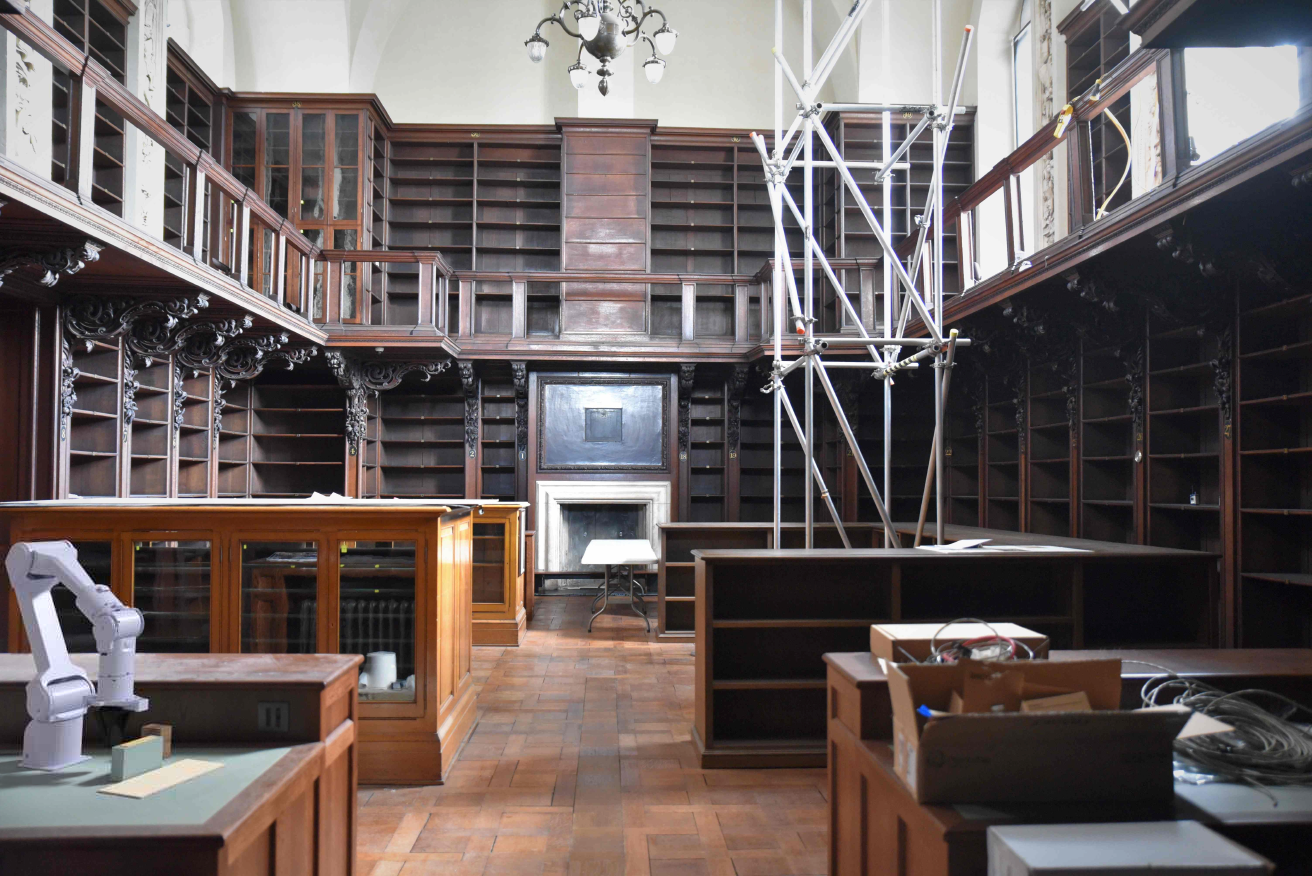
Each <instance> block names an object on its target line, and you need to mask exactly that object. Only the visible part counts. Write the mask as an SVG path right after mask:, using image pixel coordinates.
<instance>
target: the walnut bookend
mask: <svg viewBox="0 0 1312 876" xmlns="http://www.w3.org/2000/svg"><path fill="white" fill-rule="evenodd" d="M151 735H154V736H161V737H163V755H162V760H164V759H168V758H170V757H171V748H172V747H171V746H172V745H171V744H172V726H171V725H166V724H157V723H150V724H147V725H144V726H141V737H140V739H141V738H144V737H147V736H151Z"/></svg>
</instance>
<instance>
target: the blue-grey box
mask: <svg viewBox="0 0 1312 876" xmlns="http://www.w3.org/2000/svg"><path fill="white" fill-rule="evenodd" d="M162 755H163V737H161V736H154V735H151V736H147V737H144V738H141V737H140V738H138V739H135V740H131V741H129V742H126V743H121V744H120V745H118V746H115V747H112V748H111V763H110V765H111V767H110V781H112V782H116V783H117V782H118V783H120V782H123V781H125V780H128V779H131V778H134V777H137V776H139V775H142V774H145V773H148V772H151V771H154V770H156V769H159V768H162V767H163V759H162Z"/></svg>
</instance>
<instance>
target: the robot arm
mask: <svg viewBox="0 0 1312 876" xmlns="http://www.w3.org/2000/svg"><path fill="white" fill-rule="evenodd" d="M4 564H5V567H6V571H7V574H8V578H9V581H10V585H11V588H12V589H14V591H15V596H16V599H17V600H16V601H17V603H18V606H19V610H20V613H21V617H22V621H23V625H24V629H25V631H26V635H27V638H28V642H29V646H30V650H31V654H32V657H33V661H34V664H35V667H36V671H37V674H35V676H34V677H33V678H32V679H30V681H29V682H28V683H27V685H26V686H25V690H26V691H25V692H26V710H27V713H28V715H29V716H30V717H31V719H32V720H31V721H29V723H28V724H27V725H26V727H25V730H24V732H23V733H24V734H23V735H24V736H23V748H22V762H20V763H18V764H17V767H20V768H26V769H27V768H28V769H34V770H41V771H46V772H53V771H57V770H60V769H64V768H67V767H70V766H74V765H76V764H80V763H83V762H86V761H90V760H92V756H91V755H82V739H83V724H84V723H83V720H84V715H85V714H87V713H88V708H90V707H93V706H94V707H99V708H98V710H94V711H92V717H93V718H94V719H95V722H96V723H97V724H98V727H99V730H100V732H101V737H102V740H103V744H104V747H105V749H112V747H115V746H118V745H122V740H123V737H124V734H125V732H126V729H127V727H128V724H129V722H130V721H131V719H132V717H133V716H134V714H135V713H137V712H138V713H140V712H143V711H147V710H149V699H148V698H144V697H141V696H138V695H135V694H134V681H135V662H136V661H135V660H136V659H135V658H136V643H137V642H136V641H137V639H136V638H138V637H139V636H140V635H142V633H143V631H144V629H145V620H144V616H143V614H142V613H141V611H140V610H139V608H136V607H130V606H127V605H126V606H125V605H124V604H123V603H122V602H121V601H120V600H119V599H118V598H117V597H116V596H115V594H114V593H113V592H112V591H111V589H110V587H108V585H104V584H95V583H94V581H93V579H91V577H90V576H89V575H88V573H87V572H86V571H85V569H84V568H83V567H82V565H81V564H80V563H79V561H78V550H77V549H76V548H75V547H74V546H73V544H72V543H71V542H70V541H68V540H66V539H61V540H58V541H57V540H56V541H38V542H37V541H36V542H25V541H24V542H23V541H19V542H16V543H14V544H13V545H12V546H11V547H10V549H9V552H8V553H7V557H6V559H5V561H4ZM59 583H62V584H63V585H64V586H65V587H66V588H68V590H70V592H72V593H73V594H74V595H75V596H76V599H75V605H76V607H77V608H78V609H79V610H80V611H81V613H83V615H84V616H85V617H86V618H87V619H88V620H89V621H90V623H92V624H93V626H92V634H93V637H94V639H95V642H96V650H97V652H99V657H98V677H97V693H96V689H95V685H94V684H93V682H92V681H91V680H90V679H89V677H88V675H87V672H86V669H84V668H82V667H80V666H78V665H75V664H73V663H72V662H71V660H70V656H69V653H68V650H67V645H66V643H65V638H64V636H63V632H62V629H61V625H60V622H59V618H58V614H57V612H56V611H57V610H56V608H55V605H54V601H53V596H52V594H51V589H52V588H53V587H54V586H56V585H58V584H59Z"/></svg>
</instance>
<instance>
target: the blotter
mask: <svg viewBox="0 0 1312 876" xmlns="http://www.w3.org/2000/svg"><path fill="white" fill-rule="evenodd" d="M226 766H227V763H223V762H221V763H220V762H213V761H206V760H200V759H199V760H198V759H191V758H186V759H182V760H179V761H177V762H173V763H171V764H168V765H165V766H162V768H159V769H156V770H154V771H151V772H148V773H145V774H142V775H139V776H137V777H134V778H131V779H128V780H125V781H123V782H118V783H117V782H116V783H115V784H112V785H108V786H107V787H103V788H100V789H98V790H97V791H98V793H101V794H102V793H104V794H108V795H116V796H121V797H127V798H128V797H130V798H136V799H141V800H142V799H144V798H146V797H148V796H151V795H154V794H156V793H160V792H161V791H164V790H167V789H169V788H172V787H175V786H177V785H180V784H182V783H185V782H187V781H190V780H192V779H195V778H198V777H200V776H204V775H205V774H208V773H210V772H213V771H216V770H219V769H221V768H224V767H226Z"/></svg>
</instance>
